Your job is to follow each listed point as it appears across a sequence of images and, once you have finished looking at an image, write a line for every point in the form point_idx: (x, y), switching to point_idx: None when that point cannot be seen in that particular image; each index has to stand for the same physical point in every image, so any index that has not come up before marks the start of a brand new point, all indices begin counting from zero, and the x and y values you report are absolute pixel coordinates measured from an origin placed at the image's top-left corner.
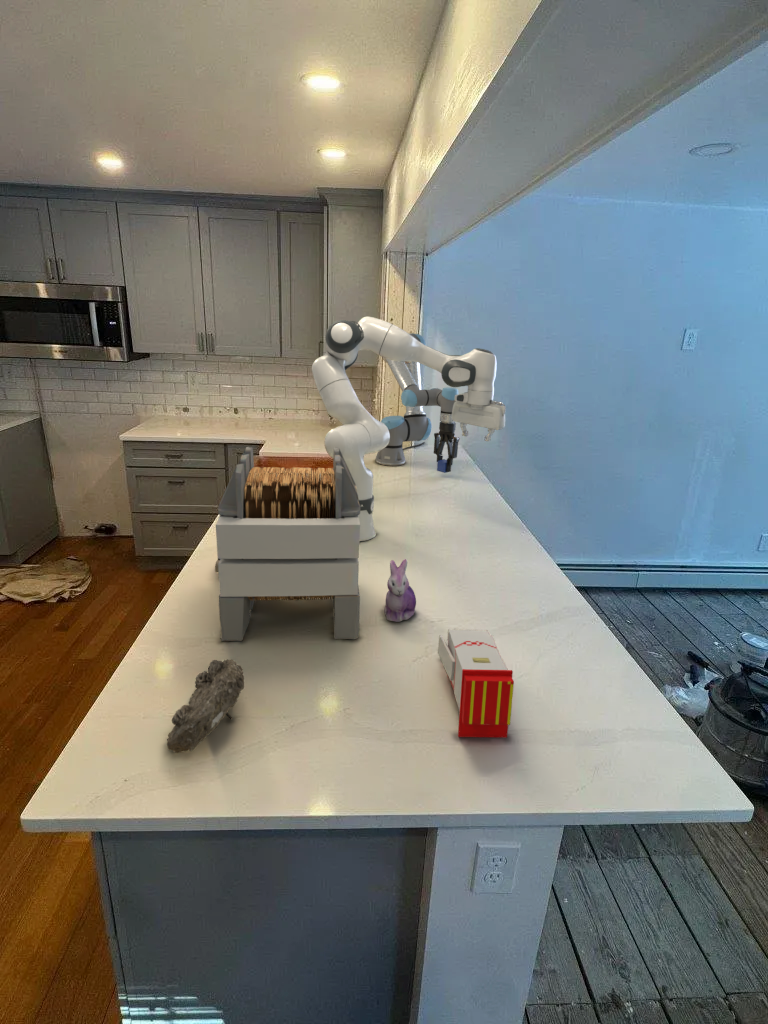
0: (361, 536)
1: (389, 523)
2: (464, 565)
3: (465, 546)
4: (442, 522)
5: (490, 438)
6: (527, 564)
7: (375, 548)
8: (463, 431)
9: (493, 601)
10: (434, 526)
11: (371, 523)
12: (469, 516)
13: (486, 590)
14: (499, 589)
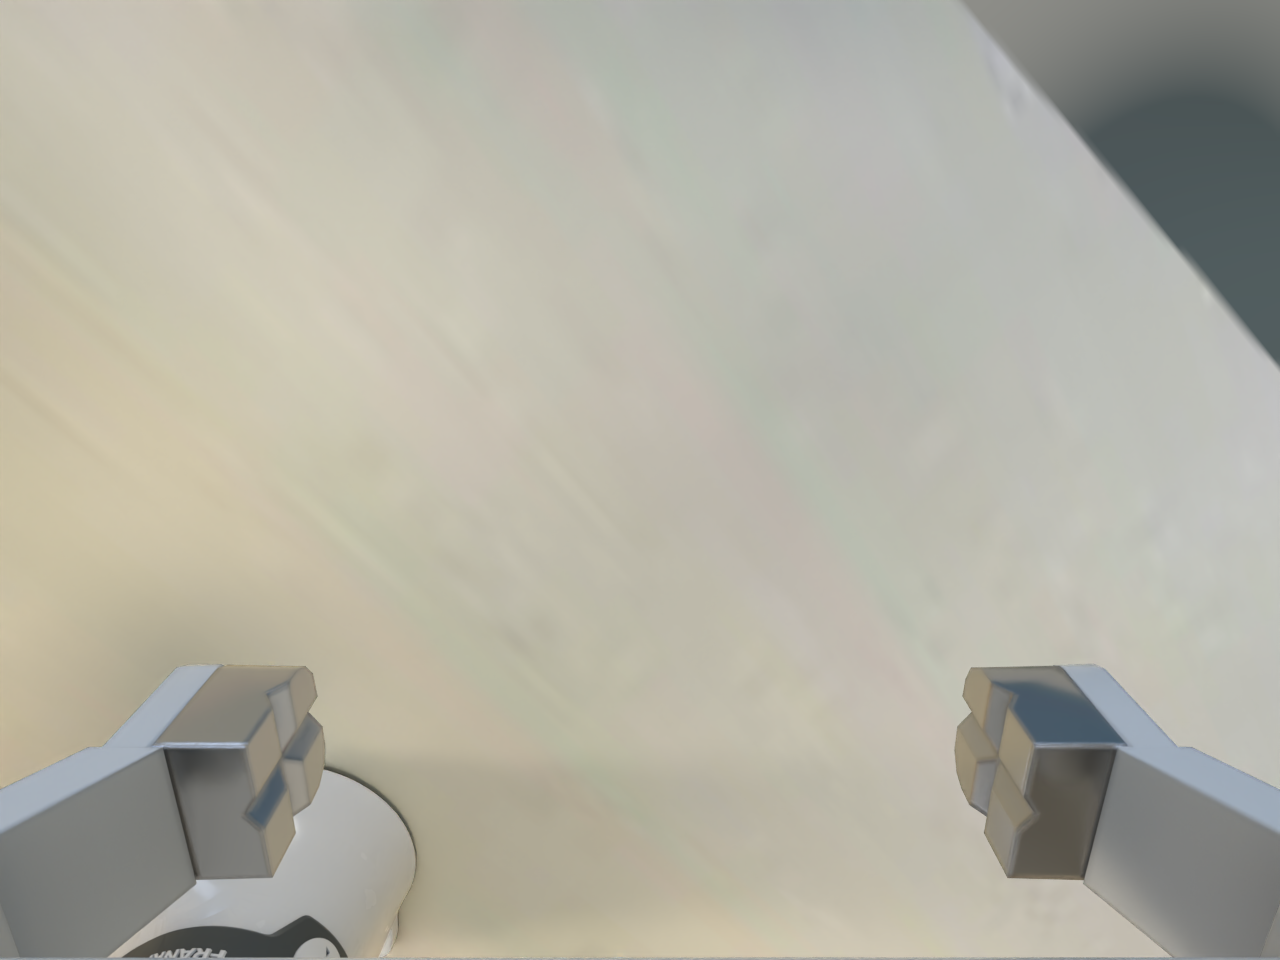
0: (398, 908)
1: (275, 628)
2: (946, 745)
3: (819, 563)
4: (459, 355)
5: (1124, 705)
6: (1218, 507)
7: (514, 890)
8: (191, 871)
9: None
10: (480, 457)
11: (366, 892)
12: (495, 64)
13: None
14: None
